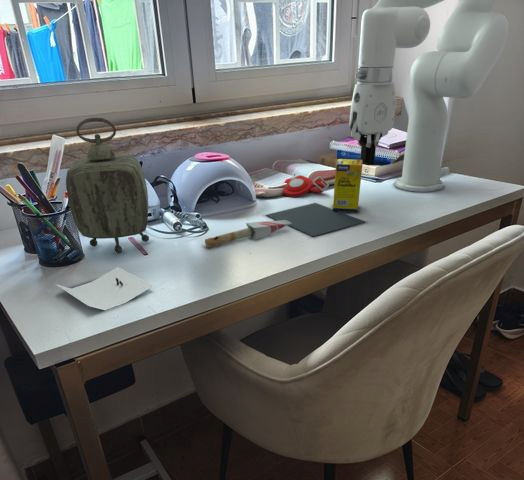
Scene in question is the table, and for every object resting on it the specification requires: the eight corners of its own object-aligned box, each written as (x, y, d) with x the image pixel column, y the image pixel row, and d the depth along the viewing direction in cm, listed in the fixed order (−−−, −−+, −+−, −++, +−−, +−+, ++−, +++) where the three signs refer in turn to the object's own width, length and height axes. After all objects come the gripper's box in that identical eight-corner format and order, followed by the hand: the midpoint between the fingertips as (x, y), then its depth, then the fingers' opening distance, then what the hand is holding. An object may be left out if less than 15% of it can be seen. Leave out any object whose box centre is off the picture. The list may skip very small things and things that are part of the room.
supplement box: (357, 212, 118) (362, 164, 112) (332, 211, 119) (335, 163, 113) (358, 205, 123) (363, 159, 117) (334, 204, 124) (337, 158, 118)
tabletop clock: (154, 238, 108) (135, 112, 94) (154, 254, 100) (133, 119, 87) (86, 244, 106) (56, 116, 92) (80, 261, 99) (47, 124, 85)
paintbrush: (293, 217, 107) (209, 239, 100) (294, 229, 109) (211, 252, 102) (284, 212, 110) (201, 234, 103) (284, 224, 112) (203, 246, 104)
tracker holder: (284, 194, 129) (276, 176, 135) (287, 209, 132) (280, 190, 139) (330, 180, 128) (319, 162, 135) (331, 195, 132) (321, 177, 138)
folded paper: (154, 291, 86) (152, 281, 85) (90, 316, 79) (88, 305, 78) (118, 272, 94) (116, 262, 93) (57, 293, 87) (54, 283, 86)
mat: (315, 203, 125) (315, 202, 125) (365, 222, 113) (365, 221, 113) (266, 215, 119) (266, 214, 118) (313, 237, 106) (313, 236, 106)
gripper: (361, 79, 102) (354, 171, 112) (411, 75, 109) (400, 162, 119) (337, 77, 108) (332, 165, 118) (386, 73, 114) (378, 157, 124)
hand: (366, 163), depth 118 cm, fingers closed
